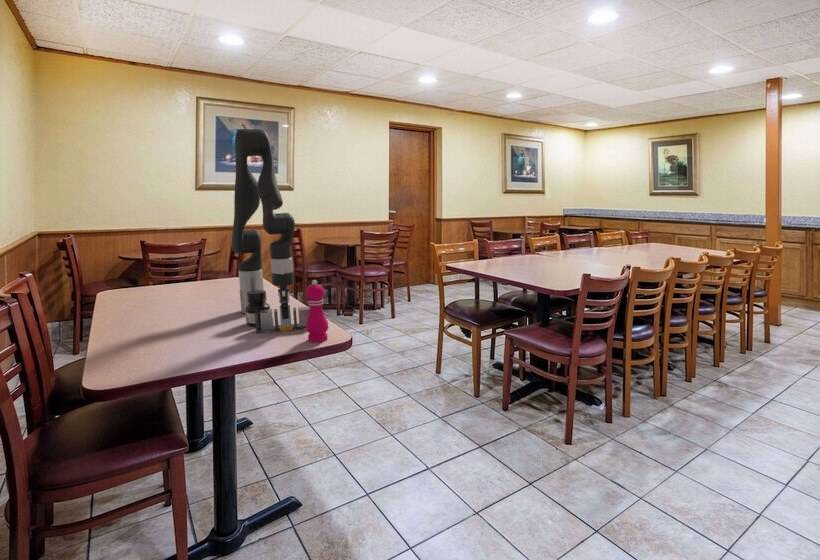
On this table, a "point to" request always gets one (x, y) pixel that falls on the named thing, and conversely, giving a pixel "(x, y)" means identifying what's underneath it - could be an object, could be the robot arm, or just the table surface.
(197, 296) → the table surface
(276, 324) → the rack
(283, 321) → the light grey block
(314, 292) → the pepper mill
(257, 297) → the ink bottle
